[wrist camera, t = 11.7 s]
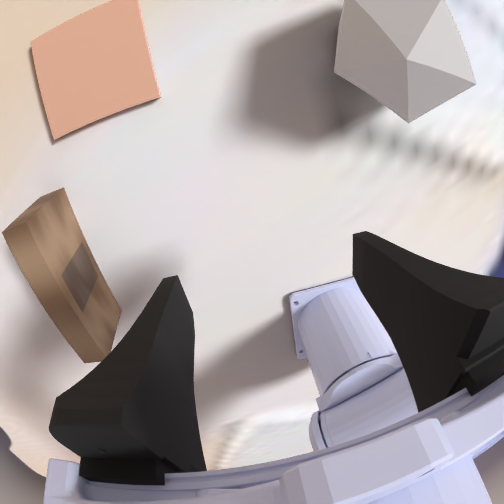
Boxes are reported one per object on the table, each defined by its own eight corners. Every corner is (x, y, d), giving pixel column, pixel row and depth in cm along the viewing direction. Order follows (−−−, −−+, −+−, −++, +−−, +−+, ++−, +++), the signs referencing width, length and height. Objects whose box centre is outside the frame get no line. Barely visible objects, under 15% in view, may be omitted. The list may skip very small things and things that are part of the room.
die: (303, 96, 18) (431, 171, 14) (285, -23, 11) (471, 26, 6) (370, 59, 20) (476, 115, 15) (368, -35, 12) (503, 12, 7)
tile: (159, 97, 16) (135, -9, 12) (54, 139, 16) (30, 41, 12) (162, 96, 17) (139, -4, 13) (61, 136, 17) (38, 43, 13)
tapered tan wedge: (121, 309, 25) (108, 360, 20) (100, 313, 25) (84, 363, 20) (64, 186, 19) (26, 221, 14) (41, 196, 19) (1, 232, 13)
